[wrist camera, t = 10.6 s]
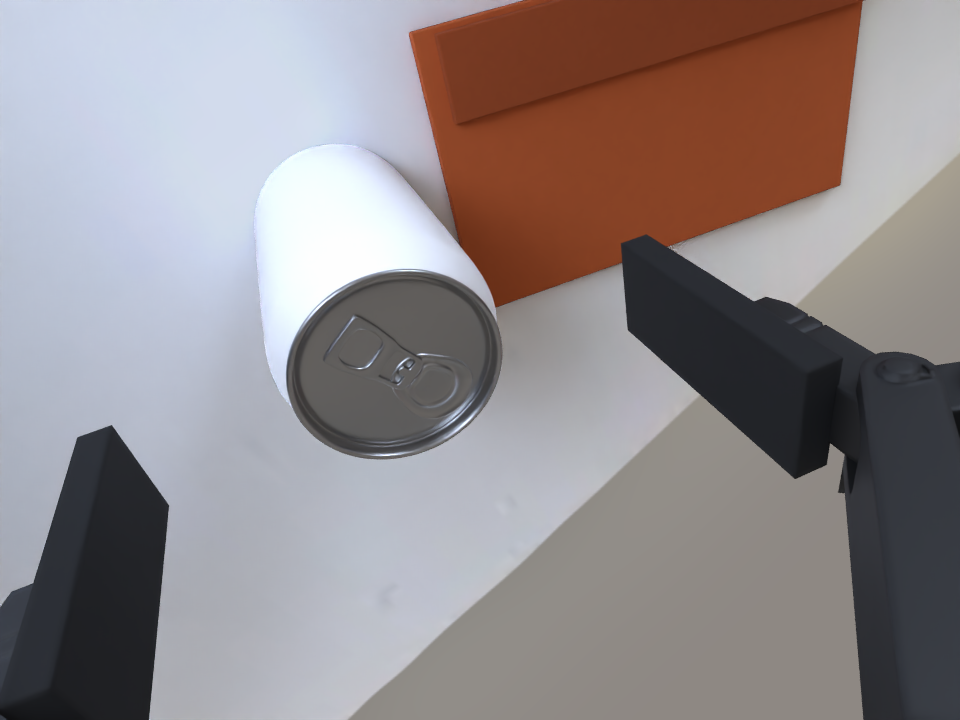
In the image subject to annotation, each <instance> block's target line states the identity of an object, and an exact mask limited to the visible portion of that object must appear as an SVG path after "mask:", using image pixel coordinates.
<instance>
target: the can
mask: <svg viewBox="0 0 960 720" xmlns="http://www.w3.org/2000/svg"><path fill="white" fill-rule="evenodd" d="M254 230H255V246H256V259H257V271H258V282H259V294H260V305H261V315H262V325H263V335H264V344H265V350H266V356H267V361H268V365H269V368H270V371H271V374H272V377H273V380H274V382H275V384H276V386H277V388H278V390H279V391H280V393H281V394H282V396H283V397H284V399H285V400H286V401H287V402H288V404H289V405H290V406H291V407H292V408H293V410H294V412H295V414H296V416H297V417H298V419H299V420H300V422H301V423H302V424H303V426H304V427H305V428H306V429H307V430H308V431H309V432H310V433H311V434H312V435H313V436H314V437H315V438H317V439H318V440H319V441H321V442H322V443H324V444H325V445H327V446H329V447H331V448H332V449H335V450H337V451H339V452H342V453H344V454H348V455H351V456H355V457H360V458H366V459H396V458H402V457H407V456H412V455H416V454H419V453H422V452H425V451H427V450H430V449H432V448H435V447H437V446H439V445H441V444H443V443H444V442H446V441H448V440H449V439H451V438H453V437H454V436H455V435H457V434H458V433H460V432H461V431H462V430H463V429H464V428H466V427H467V426H468V425H469V424H470V423H471V422H472V421H473V420H474V419H475V418H476V417H477V416H478V414H479V413H480V412H481V411H482V409H483V408H484V407H485V405H486V404H487V402H488V400H489V399H490V397H491V395H492V393H493V391H494V389H495V387H496V384H497V381H498V378H499V375H500V371H501V365H502V340H501V335H500V331H499V328H498V325H497V316H496V309H495V304H494V301H493V298H492V295H491V292H490V290H489V288H488V286H487V284H486V282H485V280H484V278H483V276H482V275H481V273H480V272H479V270H478V269H477V267H476V266H475V265H474V263H473V262H472V261H471V259H470V258H469V257H468V255H467V254H466V253H465V252H464V250H463V249H462V248H461V247H460V245H459V244H458V243H457V242H456V240H455V239H454V238H453V237H452V236H451V234H450V233H449V232H448V231H447V229H446V228H445V227H444V226H443V225H442V223H441V222H440V221H439V220H438V218H437V217H436V216H435V215H434V214H433V212H432V211H431V210H430V209H429V208H428V206H427V205H426V204H425V203H424V202H423V200H422V199H421V198H420V197H419V195H418V194H417V193H416V192H415V191H414V190H413V188H412V187H411V186H410V185H409V184H408V182H407V181H406V180H405V179H404V178H403V177H402V176H401V174H400V173H399V172H398V171H397V170H396V169H395V168H394V167H393V166H392V165H390V164H389V163H388V162H387V161H385V160H384V159H383V158H381V157H380V156H378V155H376V154H374V153H372V152H370V151H368V150H366V149H363V148H360V147H356V146H352V145H346V144H325V145H319V146H314V147H311V148H308V149H305V150H302V151H300V152H298V153H296V154H294V155H292V156H291V157H289V158H288V159H286V160H285V161H284V162H283V163H281V164H280V165H279V166H278V167H277V168H276V169H275V170H274V171H273V172H272V174H271V175H270V176H269V178H268V179H267V181H266V182H265V184H264V186H263V188H262V190H261V192H260V194H259V197H258V200H257V204H256V209H255V218H254Z"/></svg>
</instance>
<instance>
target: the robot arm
mask: <svg viewBox="0 0 960 720" xmlns="http://www.w3.org/2000/svg"><path fill="white" fill-rule="evenodd" d="M621 253H622V265H623V277H624V290H625V302H626V314H627V326H628V331H629V332H631V333H632V334H633V335H634V336H635V337H636V338H637V339H638V340H640V341H641V342H642V343H643V344H644V345H645V346H646V347H647V348H649V349H650V350H651V351H652V352H653V353H654V354H655V355H656V356H658V357H659V358H660V359H661V360H662V361H663V362H664V363H665V364H667V365H668V366H669V367H670V368H671V369H672V370H673V371H674V372H675V373H677V374H678V375H679V376H680V377H681V378H682V379H683V380H684V381H686V382H687V383H688V384H689V385H690V386H691V387H692V388H693V389H695V390H696V391H697V392H698V393H699V394H700V395H701V396H702V397H704V398H705V399H706V400H707V401H708V402H709V403H710V404H711V405H713V406H714V407H715V408H716V409H717V410H718V411H719V412H720V413H722V414H723V415H724V416H725V417H726V418H728V420H729V421H731V422H732V423H733V424H734V425H735V426H736V427H737V428H738V429H739V430H741V431H742V432H743V433H744V434H745V435H746V436H747V437H749V438H750V439H751V440H752V441H753V442H754V443H755V444H756V445H757V446H759V447H760V448H761V449H762V450H763V451H764V452H765V453H767V454H768V455H769V456H770V457H771V458H772V459H773V460H774V461H775V462H777V463H778V464H779V465H780V466H781V467H782V468H783V469H784V470H786V471H787V472H788V473H789V474H790V475H791V476H792V477H793V478H794V479H796V478H798V477H801V476H803V475H805V474H807V473H810V472H812V471H814V470H816V469H818V468H821V467H823V466H825V465H827V459H828V453H829V446H830V443H831V444H832V445H833V446H835V447H836V448H837V449H839V450H840V451H841V452H842V453H844V454H845V457H844V462H843V468H842V474H841V480H840V485H839V491H838V492H839V493H845V500H846V512H847V524H848V535H849V549H850V560H851V573H852V584H853V596H854V609H855V621H856V632H857V633H856V634H857V646H858V657H859V670H860V682H861V694H862V707H863V719H864V720H960V362H956V363H949V364H941V365H934V364H932V363H931V362H929V361H928V360H927V359H924V358H922V357H919V356H916V355H913V354H908V353H901V352H885V353H878V354H874V353H873V352H871V351H869V350H868V349H866V348H864V347H862V346H861V345H859V344H857V343H856V342H854V341H852V340H851V339H849V338H847V337H846V336H844V335H842V334H841V333H839V332H837V331H835V330H834V329H832V328H830V327H829V326H827V325H824V326H823V324H822V322H820V321H819V320H817V319H815V318H814V317H812V316H810V317H809V316H808V314H806V313H805V312H803V311H802V310H800V309H798V308H797V307H795V306H793V305H792V304H790V303H786V302H783V301H779V300H776V299H772V298H768V297H765V298H762V299H759V300H757V301H752V300H750V299H749V298H747V297H746V296H744V295H743V294H741V293H739V292H738V291H736V290H735V289H733V288H731V287H730V286H728V285H727V284H725V283H723V282H722V281H720V280H719V279H717V278H715V277H714V276H712V275H711V274H709V273H707V272H706V271H704V270H703V269H701V268H699V267H698V266H696V265H695V264H693V263H691V262H690V261H688V260H687V259H685V258H684V257H682V256H680V255H679V254H677V253H676V252H674V251H672V250H671V249H669V248H668V247H666V246H664V245H663V244H661V243H660V242H658V241H656V240H655V239H653V238H652V237H650V236H648V235H647V234H646V235H643V236H640V237H637V238H635V239H632V240H629V241H626V242H623V243H621ZM168 511H169V505H168V503H167V502H166V501H165V499H164V498H163V496H162V495H161V494H160V492H159V491H158V489H157V488H156V487H155V485H154V484H153V482H152V481H151V480H150V478H149V477H148V475H147V474H146V473H145V471H144V470H143V468H142V467H141V466H140V464H139V463H138V461H137V460H136V459H135V457H134V456H133V454H132V453H131V452H130V450H129V449H128V447H127V446H126V444H125V443H124V442H123V440H122V439H121V437H120V436H119V435H118V433H117V432H116V430H115V429H114V428H113V426H112V425H111V426H108V427H105V428H103V429H100V430H97V431H94V432H91V433H89V434H86V435H83V436H80V437H77V441H76V444H75V447H74V451H73V454H72V457H71V461H70V464H69V467H68V471H67V474H66V477H65V480H64V484H63V487H62V490H61V494H60V497H59V500H58V504H57V507H56V510H55V514H54V517H53V520H52V523H51V527H50V530H49V533H48V537H47V540H46V543H45V547H44V550H43V553H42V557H41V560H40V563H39V566H38V570H37V573H36V576H35V580H34V583H33V584H30V585H28V586H25V587H23V588H20V589H18V590H15V591H12V592H11V593H10V595H9V596H8V597H7V599H6V600H5V602H4V603H3V604H2V606H1V607H0V720H149V713H150V702H151V691H152V681H153V670H154V660H155V649H156V638H157V628H158V617H159V607H160V596H161V585H162V575H163V564H164V554H165V543H166V532H167V522H168Z"/></svg>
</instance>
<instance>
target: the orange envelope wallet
mask: <svg viewBox="0 0 960 720" xmlns="http://www.w3.org/2000/svg"><path fill="white" fill-rule="evenodd" d="M862 1H864V0H523V1H520V2H516V3H513V4H509V5H506V6H502V7H498V8H495V9H491V10H488V11H484V12H480V13H477V14H473V15H470V16H466V17H462V18H459V19H455V20H452V21H448V22H444V23H441V24H437V25H434V26H430V27H426V28H423V29H419V30H416V31H412V32H410V33H409V37H410V41H411V45H412V49H413V53H414V57H415V62H416V66H417V70H418V74H419V78H420V82H421V86H422V90H423V95H424V99H425V103H426V107H427V111H428V115H429V119H430V123H431V127H432V132H433V136H434V140H435V144H436V148H437V152H438V156H439V160H440V165H441V169H442V173H443V177H444V181H445V185H446V189H447V193H448V197H449V202H450V206H451V210H452V214H453V218H454V222H455V226H456V230H457V235H458V239H459V243H460V247H461V248H462V249H463V250H464V252H465V253H466V254H467V255H468V257H469V258H470V259H471V261H472V262H473V263H474V265H475V266H476V267H477V269H478V270H479V272H480V273H481V275H482V276H483V278H484V280H485V282H486V284H487V286H488V288H489V290H490V292H491V295H492V298H493V301H494V304H495V307H498V306H501V305H504V304H507V303H510V302H512V301H515V300H518V299H521V298H524V297H526V296H529V295H532V294H535V293H538V292H540V291H543V290H546V289H549V288H552V287H555V286H557V285H560V284H563V283H566V282H569V281H571V280H574V279H577V278H580V277H583V276H586V275H588V274H591V273H594V272H597V271H600V270H602V269H605V268H608V267H611V266H614V265H617V264H619V263H622V253H621V243H623V242H626V241H629V240H632V239H635V238H637V237H640V236H643V235H646V234H647V235H648V236H650V237H652V238H653V239H655V240H656V241H658V242H660V243H661V244H663V245H664V246H666V247H667V246H670V245H673V244H676V243H679V242H681V241H684V240H687V239H690V238H693V237H695V236H698V235H701V234H704V233H707V232H710V231H712V230H715V229H718V228H721V227H724V226H726V225H729V224H732V223H735V222H738V221H741V220H743V219H746V218H749V217H752V216H755V215H757V214H760V213H763V212H766V211H769V210H772V209H774V208H777V207H780V206H783V205H786V204H788V203H791V202H794V201H797V200H800V199H803V198H805V197H808V196H811V195H814V194H817V193H819V192H822V191H825V190H828V189H831V188H834V187H836V186H839V185H840V183H841V175H842V166H843V158H844V150H845V142H846V133H847V125H848V117H849V109H850V100H851V92H852V84H853V76H854V67H855V59H856V51H857V43H858V34H859V26H860V18H861V10H862Z"/></svg>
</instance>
